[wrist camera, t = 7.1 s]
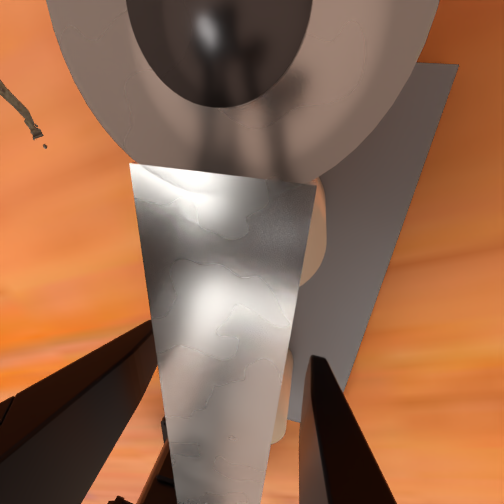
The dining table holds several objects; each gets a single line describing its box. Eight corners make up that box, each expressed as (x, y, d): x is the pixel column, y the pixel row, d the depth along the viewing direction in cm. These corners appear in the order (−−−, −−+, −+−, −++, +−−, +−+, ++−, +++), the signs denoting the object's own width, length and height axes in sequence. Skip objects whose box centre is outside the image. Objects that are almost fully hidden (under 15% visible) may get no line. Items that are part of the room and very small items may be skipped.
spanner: (282, 463, 15) (269, 578, 11) (198, 439, 16) (161, 539, 12) (410, -94, 5) (612, -549, 2) (173, -85, 6) (-55, -375, 2)
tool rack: (329, 409, 20) (331, 502, 16) (188, 374, 22) (152, 448, 17) (442, 69, 10) (543, 39, 6) (169, 55, 12) (71, 22, 7)
